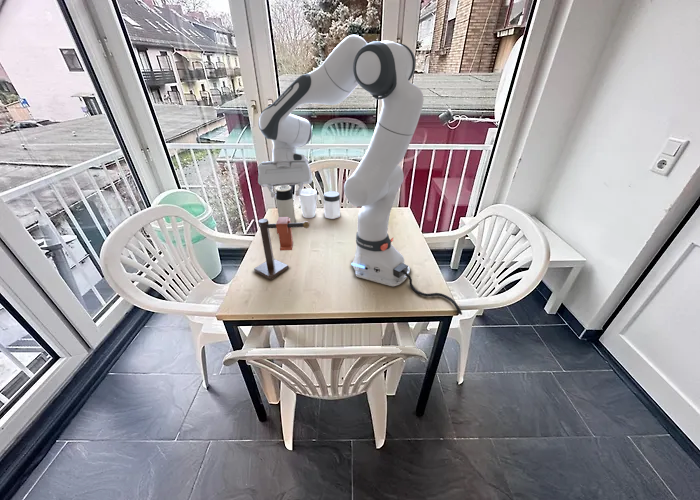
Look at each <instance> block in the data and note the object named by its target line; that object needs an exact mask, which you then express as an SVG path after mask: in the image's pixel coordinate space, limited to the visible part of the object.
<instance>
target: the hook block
mask: <svg viewBox="0 0 700 500" xmlns="http://www.w3.org/2000/svg"><path fill="white" fill-rule="evenodd" d="M288 223H291V220H290V218H289V217H279V216H278V217H277V220H276V222H275V224H276V228H275V229H276V234H278V240H279V251H280V252H281V251H293V248H294V241H293V239H294V238H293V231H292V230H293V229H292V228H288V227H287V224H288Z"/></svg>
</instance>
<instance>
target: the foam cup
mask: <svg viewBox="0 0 700 500" xmlns="http://www.w3.org/2000/svg"><path fill="white" fill-rule="evenodd" d="M300 192H301V196H297V197H298V199H299V204H300V208H301V212H302V216H303V218H305V219H312V218H314V217H316V211H317V210H316V209H317V198H318V190H316V189H313V188H302V190H301V191H300Z"/></svg>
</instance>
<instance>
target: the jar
mask: <svg viewBox="0 0 700 500" xmlns="http://www.w3.org/2000/svg"><path fill="white" fill-rule="evenodd" d="M323 208H324V210H323V211H324V218H326V219H331V220H334V219H337V218H340V217H341V195H340V192H338V191H335V190H332V191H331V190H329V191H326V192H323Z"/></svg>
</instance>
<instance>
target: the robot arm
mask: <svg viewBox="0 0 700 500" xmlns="http://www.w3.org/2000/svg"><path fill="white" fill-rule="evenodd" d="M416 63H417V62H416V56H415V54H414V52H413V50H412V49H411V48H410V47H409V46H407V45H406V44H405V43H401V42H395V41H391V40H381V41H378V40H375V41H371V42H367V41H366V40H365V39H364V38H363V37H362V36H359V35H358V34H350V35H348V36H346V37H345V38H344V39H343V40H341V41H340V42H339V43H338V44H337V45H336V47H334V48H333V50H332V51H331V52H330V53H329V55H328V56H327V57H326V59H325V60H323V62H322V63H321V64H320V65H319V66H318V67H316V68H315V69H314V70H312V71H310V72H308V73H305V74H301V75H299V76H298V77H297V78H296V79H295V80H294V81H292V83H291V84H289V86H288V87H287V88H286V89H285V90H284V91H283V92H282V93H281V94H280V95H279V96H278V97H277V99H276V100H275V101H274V102H272V103H271V104H270V105H268V106H266V107H265V108H264V109H263V110H261V113H260V115H259V117H258V121H257V122H258V128H259V130H260V133H261V134H262V135H263V136H264V138H265V139H267V140H271V142H272V151H271V152H272V153H271V154H272V155H271V156H272V159H271V161H262V162H260V163H259V164H258V165H257V172H258V176H257V183H258V185H259V186H261V187H263V188H266V187H267V189H268V191H269V192H270V197H271V198H272V199H273V198H275V199H276V191H273V190H274V187H277V186H284V185H288V186H295V185H297V186H298V189H296V190H295V196H296V197H298V196H301V192H300V191H301V190H302V189H304V185H308V184H312V182H313V174H312V170H311V167H310V161H309V159H308V158H307V157H306V156H305V155H304V154H303V153H302V154H301V153H297V151H296V149H297V148H302V147H304V146H306V145H308V143H310V142H311V140H312V137H313V127H312V125H311V123H310V121H309V120H308V119H306V118H304V117H301V116H298V115H296V114H292V113H293V112H294V111H295V110H296V109H297V108H298V107H299V106H302V105H306V104H317V105H318V104H319V105H327V106H334V105H339V104H341V103H343V101H345V100H347V98H348V97H350V95H351V94H352V93H353V91H354V90H355V89H356V88H357V87H358V86H360V87H361V88H362V89H363V90H365V91H366V92H367V93H369V94H370V95H371V96H372V97H373V98H374V99H375V100H379V101H380V100H381V110H380V113H379V115H378V118H377V122H376V124H375V128H374V131H373V134H372V137H371V140H370V143H369V145H368V146H367V147H368V148H367V149H366V151H365V153H364V155H363V157H362V159H361V160H360V162H359V163H358V165H357V167H356V169H355V170H354V172H353V173H352V174H351V175H350V176H349V178H347V179H346V180H345V182H344V185H343V193H344V197H345V198H346V200H347V201H348V203H349V204H351V206H354V207H357V208H360V207H361V208H360V209H359V211H358V214H357V231H356V234H355V243H356V248H355V255H354V258H353V261H352V262H351V264H350V265H351V266H352V268H353V270H354V271H355V276H356V277H357V278H360V279H363V280H367V281H371V282H375V283H378V284H382V285H385V286H389V287H397V286H400V285H401V284H403V283H404V282H405V281H406V280H407V279H408V280H409V281H408V282H409V283H408V284H409V286H410V288H411V290H412V291H413V292H415V293H416V294H417V295H420V296H422V297H442V298H444V299H446V300H448V301H449V302H451V303H452V304H453V306H454V307H455V309H456V311H457V312H458V314H459V315H460V316H461V315H463V312H462V310H461V308H460V307H459V305H458V303H457V302H456V301H455V300H454V299H453V298H452V297H450V296H448V295H446V294H443V293H440V292H432V293H425V292H422V291H420V290H418V289H416V288H415V287H414V285H413V278H412V277H411V275H410V274H411V273H410V272H411V269H410V266H409V265H408V264H406V263H405V257H404V255H403V254H402V253H400V252H399V250H397V248H395V247H394V245H393V244H392V242H393V241H394V237H390V236H389V234H388V232H389V230H388V229H389V223H390V222H389V221H390V216H391V212H392V208H393V205H394V203H395V200H396V196H397V194H398V192H399V189H400V187H402V184H403V183H404V180H405V179H404V178H405V174H404V170H403V169H402V167H401V166H400V165H399V164H400V163H401V162H402V161H403V159H404V158H405V157H406V153H407V151H408V149H409V146H410V145H411V141H412V139H413V136H414V134H415V132H416V129H417V127H418V124H419V120H420V117H421V114H422V110H423V105H424V99H425V97H424V93H423V91H422V89H420V87H418V86H417V85H416V84H414V83H412V82H411V79H412V78H413V76H414V74H415V71H416V65H417V64H416Z"/></svg>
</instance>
